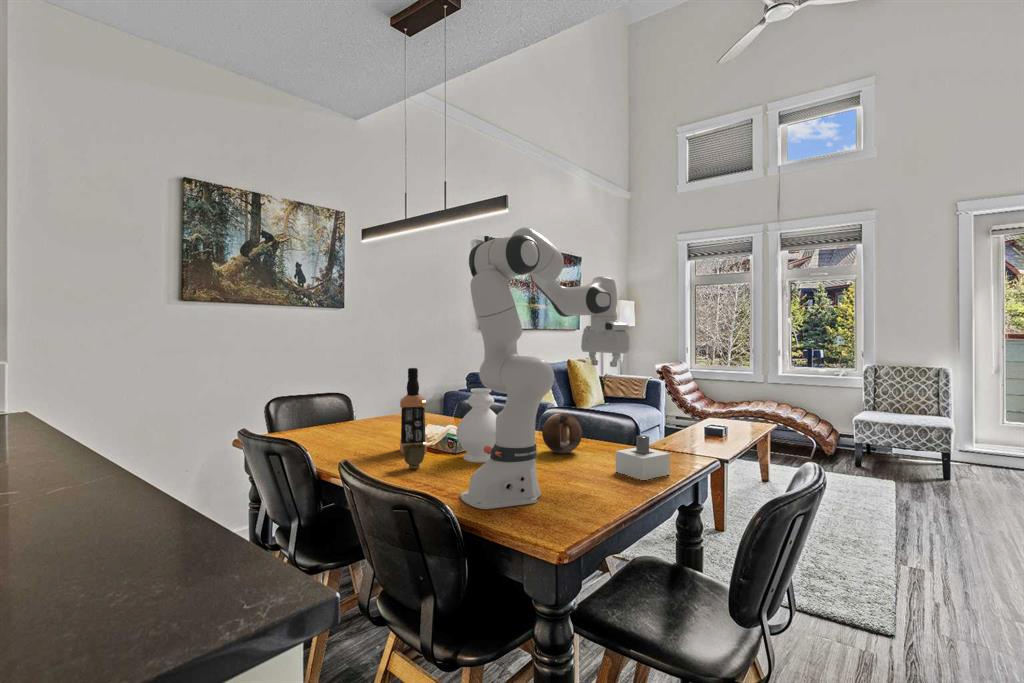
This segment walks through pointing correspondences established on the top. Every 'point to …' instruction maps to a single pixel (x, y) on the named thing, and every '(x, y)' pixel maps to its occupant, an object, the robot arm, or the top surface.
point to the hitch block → (642, 463)
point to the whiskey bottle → (412, 413)
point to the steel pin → (642, 445)
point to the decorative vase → (478, 426)
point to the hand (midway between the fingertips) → (603, 366)
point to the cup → (414, 455)
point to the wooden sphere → (562, 433)
